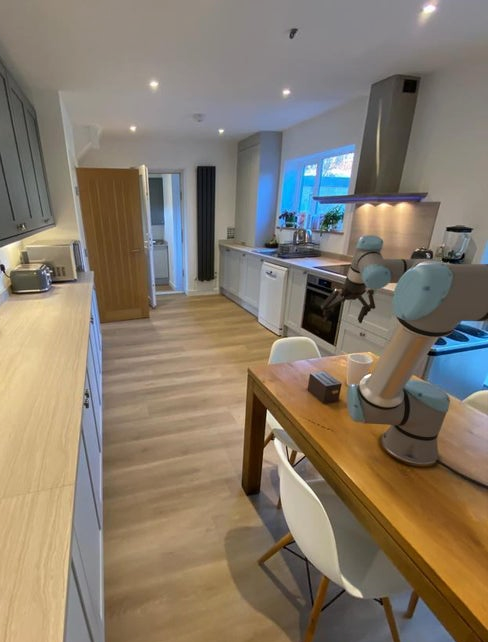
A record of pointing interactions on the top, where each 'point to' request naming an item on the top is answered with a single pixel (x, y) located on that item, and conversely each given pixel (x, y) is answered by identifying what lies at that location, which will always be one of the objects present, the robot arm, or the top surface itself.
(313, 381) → the dark slotted box
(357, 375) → the foam cup
